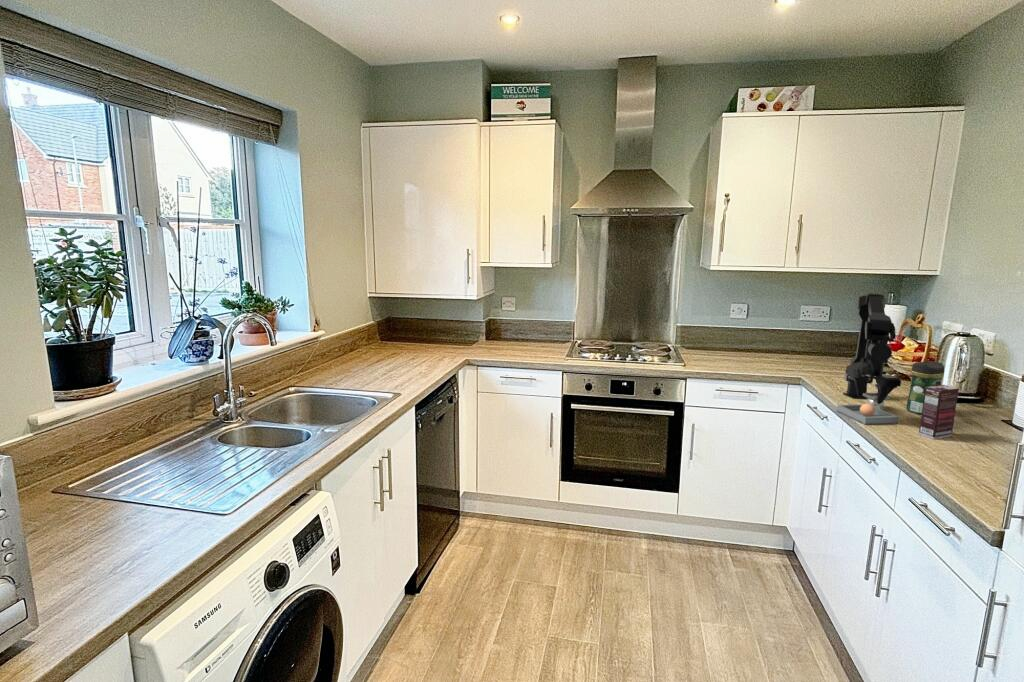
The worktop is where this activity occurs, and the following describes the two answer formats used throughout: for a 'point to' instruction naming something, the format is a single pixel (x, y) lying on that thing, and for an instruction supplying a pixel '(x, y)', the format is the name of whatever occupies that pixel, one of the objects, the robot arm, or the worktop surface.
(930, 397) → the supplement box
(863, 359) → the robot arm
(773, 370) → the worktop surface
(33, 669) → the worktop surface
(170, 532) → the worktop surface
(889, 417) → the tray
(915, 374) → the coffee jar
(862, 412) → the ball
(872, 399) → the hollow square frame
